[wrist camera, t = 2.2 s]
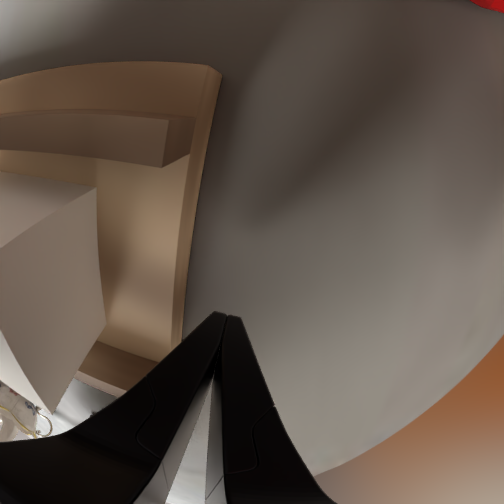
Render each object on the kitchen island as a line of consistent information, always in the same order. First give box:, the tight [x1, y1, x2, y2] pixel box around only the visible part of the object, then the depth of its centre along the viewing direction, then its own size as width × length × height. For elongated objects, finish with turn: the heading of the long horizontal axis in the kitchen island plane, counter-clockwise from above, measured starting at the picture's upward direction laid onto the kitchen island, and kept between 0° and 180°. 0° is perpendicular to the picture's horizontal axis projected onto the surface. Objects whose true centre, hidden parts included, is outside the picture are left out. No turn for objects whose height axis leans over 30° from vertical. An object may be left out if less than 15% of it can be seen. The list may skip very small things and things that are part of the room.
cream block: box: [0, 171, 107, 415], centre depth 7 cm, size 6×6×5 cm
